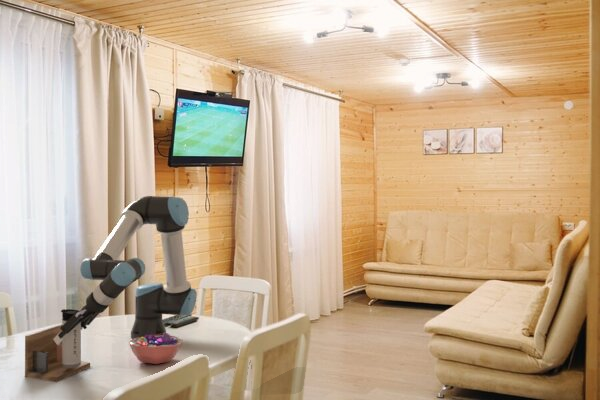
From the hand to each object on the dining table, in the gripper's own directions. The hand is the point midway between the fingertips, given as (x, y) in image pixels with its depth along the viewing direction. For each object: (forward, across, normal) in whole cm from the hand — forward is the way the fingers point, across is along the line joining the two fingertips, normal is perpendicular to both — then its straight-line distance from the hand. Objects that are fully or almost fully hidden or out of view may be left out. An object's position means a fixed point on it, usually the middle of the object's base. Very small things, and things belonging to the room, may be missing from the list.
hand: (62, 339), depth 221 cm
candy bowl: (-8, +24, -26) cm, 36 cm away
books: (+11, +8, -4) cm, 14 cm away
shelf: (+10, +1, -7) cm, 12 cm away
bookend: (+11, -7, -4) cm, 13 cm away
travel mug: (+4, 0, -9) cm, 10 cm away
